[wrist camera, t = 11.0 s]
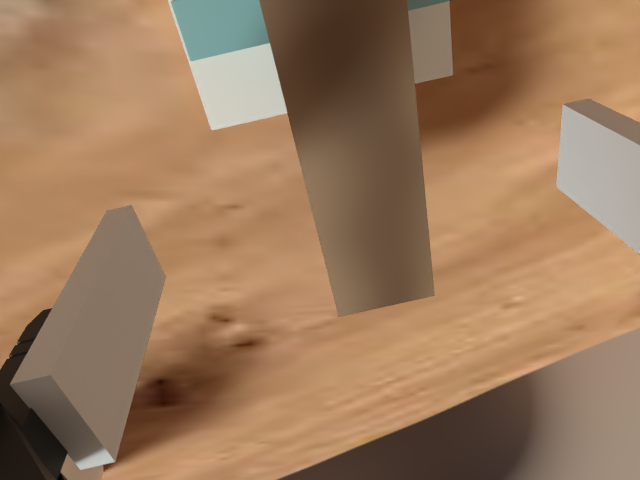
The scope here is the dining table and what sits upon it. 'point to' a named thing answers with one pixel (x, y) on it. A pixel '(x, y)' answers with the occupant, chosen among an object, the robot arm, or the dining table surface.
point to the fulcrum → (257, 59)
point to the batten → (357, 143)
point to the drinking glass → (80, 471)
